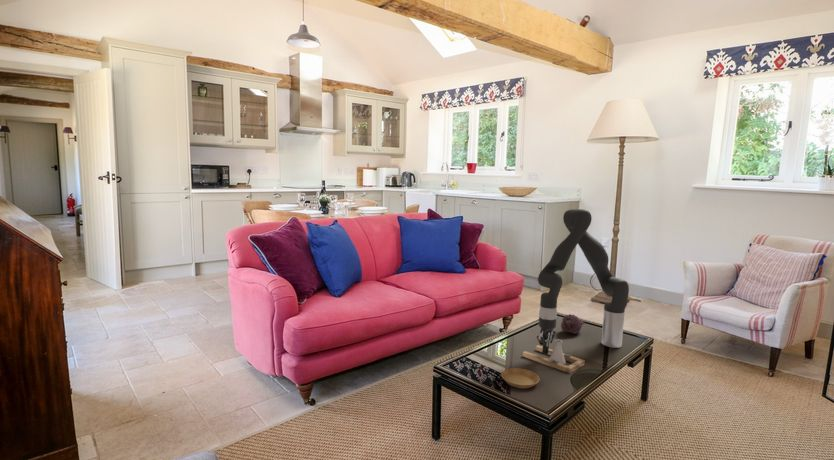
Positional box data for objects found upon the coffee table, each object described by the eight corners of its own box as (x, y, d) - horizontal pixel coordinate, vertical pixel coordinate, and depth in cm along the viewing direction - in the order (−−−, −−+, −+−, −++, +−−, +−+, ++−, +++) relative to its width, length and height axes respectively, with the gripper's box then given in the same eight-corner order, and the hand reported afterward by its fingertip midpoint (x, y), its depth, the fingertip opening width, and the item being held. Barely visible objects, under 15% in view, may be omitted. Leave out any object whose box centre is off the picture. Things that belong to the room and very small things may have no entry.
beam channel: (538, 349, 211) (538, 344, 211) (584, 364, 194) (584, 359, 194) (522, 356, 202) (522, 351, 202) (569, 373, 185) (570, 368, 185)
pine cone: (569, 339, 224) (570, 320, 223) (552, 333, 232) (553, 315, 231) (588, 332, 235) (589, 314, 234) (571, 327, 243) (573, 309, 242)
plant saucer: (546, 382, 177) (546, 376, 177) (526, 395, 167) (527, 388, 166) (513, 370, 187) (514, 364, 187) (493, 381, 177) (494, 375, 176)
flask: (556, 367, 192) (557, 344, 190) (545, 360, 198) (546, 339, 197) (569, 364, 195) (570, 342, 193) (557, 358, 201) (559, 336, 200)
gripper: (547, 311, 206) (545, 347, 208) (532, 317, 196) (530, 354, 199) (562, 315, 200) (560, 352, 202) (547, 321, 191) (545, 360, 193)
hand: (545, 353), depth 200 cm, fingers closed
